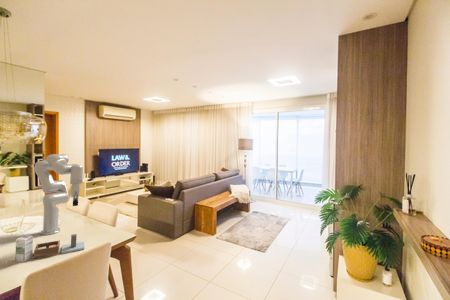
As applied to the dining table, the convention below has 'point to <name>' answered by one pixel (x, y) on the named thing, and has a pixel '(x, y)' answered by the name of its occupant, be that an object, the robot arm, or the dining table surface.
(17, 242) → the syrup box
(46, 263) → the dining table surface
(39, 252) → the box
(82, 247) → the lid
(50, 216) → the robot arm
